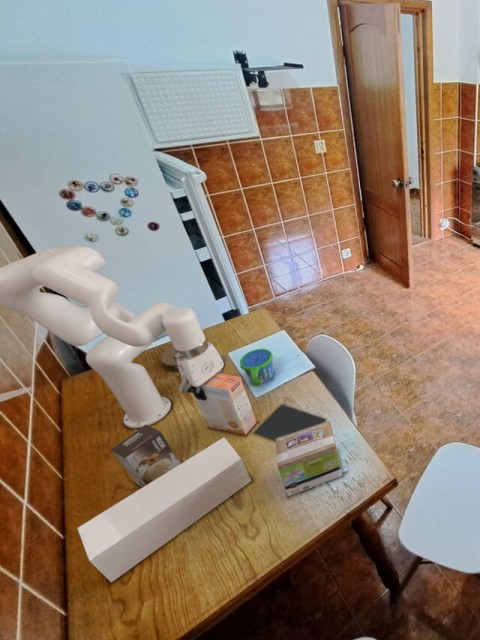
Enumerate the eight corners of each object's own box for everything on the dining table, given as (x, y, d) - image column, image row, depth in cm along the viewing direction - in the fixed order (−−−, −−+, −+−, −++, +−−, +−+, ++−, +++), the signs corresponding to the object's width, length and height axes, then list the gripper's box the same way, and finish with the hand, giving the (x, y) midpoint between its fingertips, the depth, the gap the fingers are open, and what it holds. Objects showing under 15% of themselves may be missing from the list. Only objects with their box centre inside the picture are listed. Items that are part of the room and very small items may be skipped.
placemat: (254, 432, 126) (254, 431, 125) (281, 405, 136) (281, 404, 135) (300, 449, 121) (300, 448, 121) (325, 419, 131) (324, 419, 131)
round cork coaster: (173, 346, 159) (171, 340, 157) (217, 341, 162) (214, 335, 161) (156, 373, 146) (153, 367, 144) (203, 367, 149) (201, 361, 148)
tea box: (288, 498, 108) (276, 467, 100) (285, 468, 116) (273, 437, 108) (343, 476, 114) (335, 445, 107) (337, 449, 122) (329, 418, 114)
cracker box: (258, 421, 129) (241, 376, 119) (245, 436, 124) (226, 390, 114) (221, 413, 132) (202, 368, 121) (207, 427, 126) (186, 381, 116)
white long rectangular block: (234, 459, 117) (224, 437, 112) (251, 481, 112) (241, 458, 106) (98, 550, 95) (77, 527, 90) (111, 582, 90) (89, 560, 84)
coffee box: (168, 457, 117) (146, 422, 109) (182, 465, 115) (162, 430, 107) (135, 484, 110) (109, 449, 101) (150, 493, 108) (125, 458, 99)
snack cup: (273, 391, 141) (266, 371, 135) (241, 395, 138) (233, 375, 133) (281, 362, 154) (276, 342, 148) (252, 365, 151) (245, 345, 146)
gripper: (173, 370, 104) (195, 415, 113) (227, 332, 118) (243, 375, 127) (152, 363, 105) (176, 408, 115) (208, 327, 120) (226, 369, 129)
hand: (211, 390), depth 121 cm, fingers closed on cracker box, 6 cm apart
